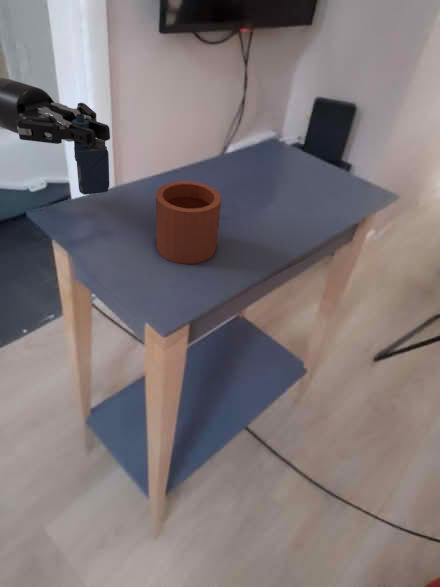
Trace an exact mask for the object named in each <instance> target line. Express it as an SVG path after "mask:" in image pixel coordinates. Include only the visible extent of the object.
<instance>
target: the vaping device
mask: <svg viewBox="0 0 440 587" xmlns="http://www.w3.org/2000/svg"><path fill="white" fill-rule="evenodd" d="M76 117H77V119H75V120H73V121H72V125H74V124H77V125H80V126H83V127H86V128H89V122H88V121H87V120H84V115H83V114H77V115H76ZM73 144H74V145H73V150H74V157H73V158H74V160H75V162H76V171H77V182H78V191H79V193H80V194H82V195H83V196H84V195H86V196H87V195H95V194H103V193H107V192H108V191H109V189H110V186H111V183H110V159H109V157H110V156H109V151H108V147H107V145H106V141H104V140H101V139H98V138H96V145H94V146H92V147H91V146H88V145H85V144H82V143H80V142H77V141H73Z"/></svg>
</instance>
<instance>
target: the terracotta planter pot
mask: <svg viewBox="0 0 440 587" xmlns="http://www.w3.org/2000/svg"><path fill="white" fill-rule="evenodd" d="M221 206H222V196H221V194H220V192H219V191H218V190H217V189H215V188H214V187H212V186H210V185H208V184H204V183H203V182H197V181H192V180H191V181H189V180H187V181H186V180H182V181H181V180H179V181H173V182H172V181H171V182H169V183H166V184H164V185H162V186H160V187H159V188H158V189H157V190H156V192H155V216H156V217H155V224H156V226H155V228H156V233H155V234H156V249H157V252H158V253H159V254H160V255H161V256H162V258H165V259H166V260H168V261H171V262H173V263H176V264H181V265H182V264H183V265H194V264H195V265H196V264H199V263H203V262H206V261H208V260H209V259H211V258H212V257H213V256H214V255H215V253H216V250H217V245H218V236H219V235H218V234H219V226H220V215H221Z"/></svg>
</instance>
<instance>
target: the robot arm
mask: <svg viewBox="0 0 440 587" xmlns="http://www.w3.org/2000/svg"><path fill="white" fill-rule="evenodd" d="M77 114H83V115H84V120H87V121H88V122H89V128H86V127H83V126H80V125H77V124H74V125H72V121H73V120H75V119H77V117H76V115H77ZM0 128H1V129H4V130H8V131H10V132H13V133H15V134H18V137H19V140H21V141H28V142H29V141H30V142H37V143H38V142H39V143H46V144H55V145H59V144H62V142H63V141H65V142H69V143H71V142H74V141H77V142H80V143H82V144H85V145H88V146H91V147H92V146H94V145H96V138H98V139H101V140H104V141H105V142H107V141H110V140H111V130H110V126H109V125H108V124H106V123H103V122H100V121H97V113H96V112H95V111H94V110H93V109H92V108H91V107H89V105H87V104H86V103H84V102H78V103H77V105H76V108H73V107H69V106H67V105H65V104H62V103H59V102H55V101H54V99H53V98H52V97H51V96H50V94H48V92H47V91H45V90H44V89H42V88H40V87H36V86H33V85H31V84H27V83H24V82H20V81H18V80H14V79H12V78H11V79H10V78H6V77H0Z"/></svg>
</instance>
